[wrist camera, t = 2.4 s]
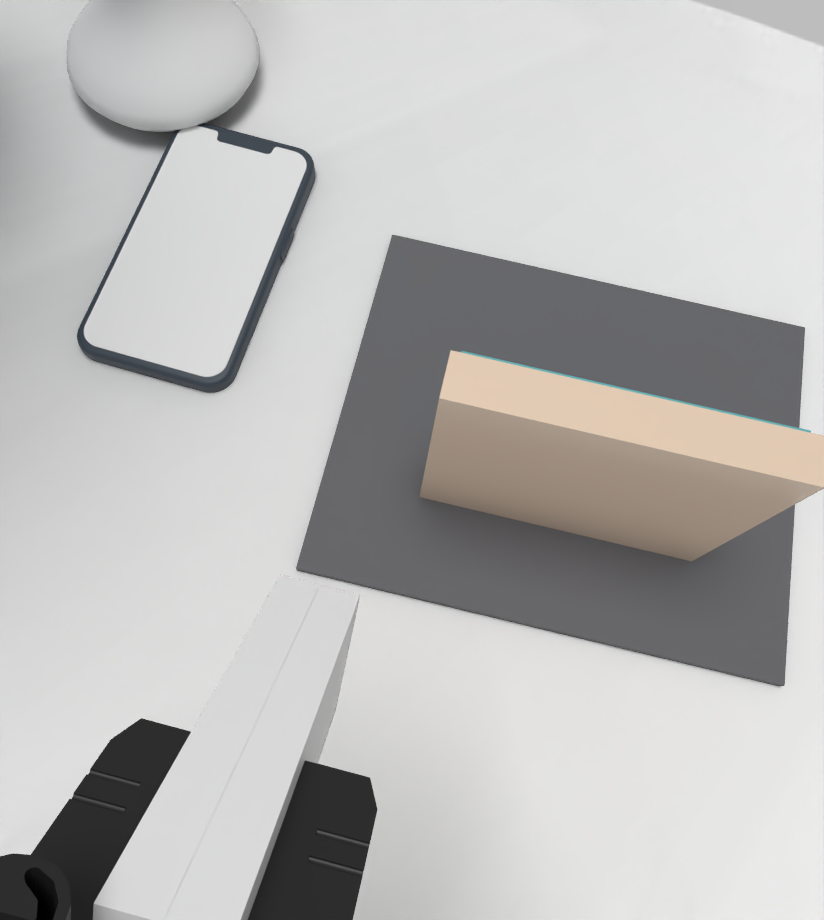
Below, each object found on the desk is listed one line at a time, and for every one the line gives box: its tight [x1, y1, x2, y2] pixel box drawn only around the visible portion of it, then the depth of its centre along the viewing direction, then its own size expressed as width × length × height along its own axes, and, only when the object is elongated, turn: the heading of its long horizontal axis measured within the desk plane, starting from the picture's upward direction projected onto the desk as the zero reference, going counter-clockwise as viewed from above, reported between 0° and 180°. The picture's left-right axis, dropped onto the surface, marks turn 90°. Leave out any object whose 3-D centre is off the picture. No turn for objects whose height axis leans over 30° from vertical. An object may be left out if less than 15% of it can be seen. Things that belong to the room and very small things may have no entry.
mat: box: [296, 235, 805, 686], centre depth 40 cm, size 24×20×1 cm
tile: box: [420, 350, 824, 561], centre depth 33 cm, size 14×2×12 cm, turn 77°
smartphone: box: [77, 123, 315, 392], centre depth 43 cm, size 9×2×16 cm
